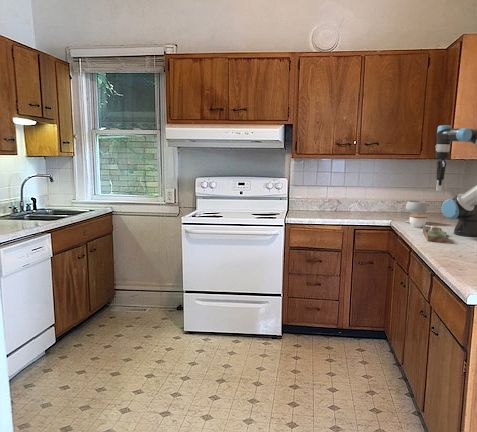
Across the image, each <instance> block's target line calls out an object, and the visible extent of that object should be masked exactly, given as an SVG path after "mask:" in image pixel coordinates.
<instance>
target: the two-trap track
mask: <svg viewBox="0 0 477 432" xmlns="http://www.w3.org/2000/svg"><path fill="white" fill-rule="evenodd" d="M422 234H423V235H424V237H425V239H426V241H427V242H431V243H432V242H434V243H444V242H445V243H446V240H447V231H444V230H442V228H441V229H440V231H431V227H429V228H428V227H427V226H426V224H425V225H423V227H422Z"/></svg>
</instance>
